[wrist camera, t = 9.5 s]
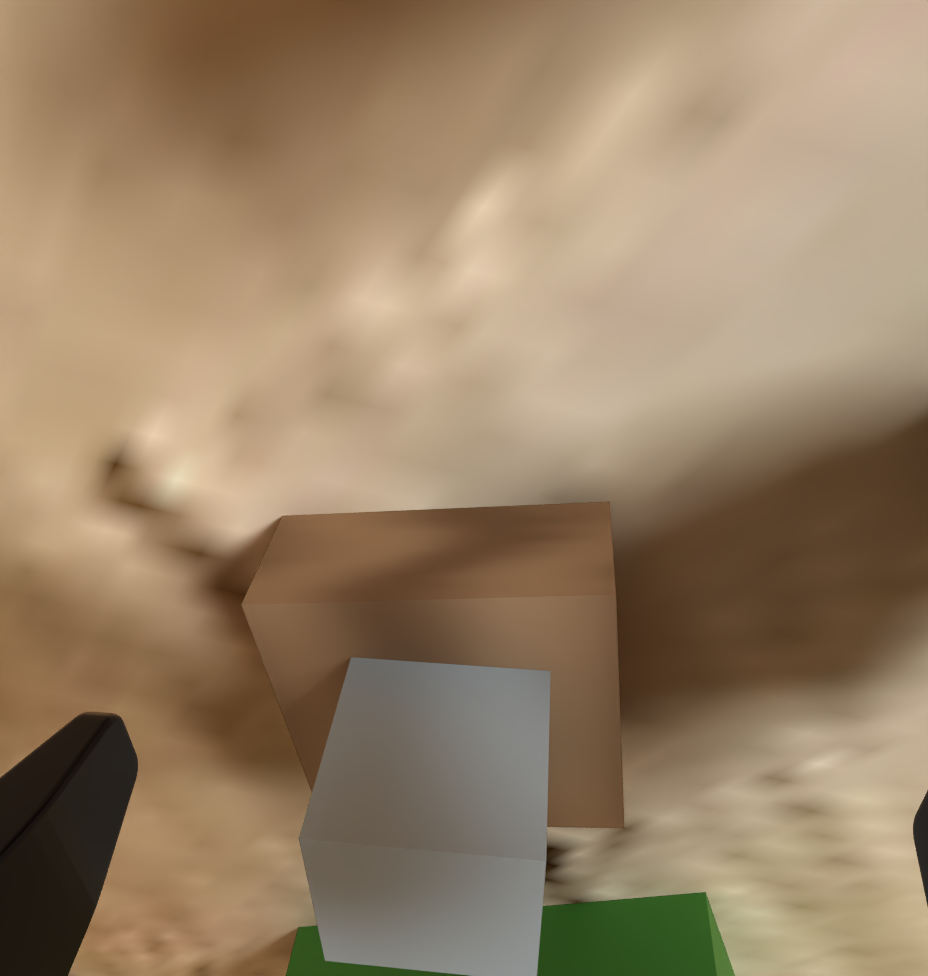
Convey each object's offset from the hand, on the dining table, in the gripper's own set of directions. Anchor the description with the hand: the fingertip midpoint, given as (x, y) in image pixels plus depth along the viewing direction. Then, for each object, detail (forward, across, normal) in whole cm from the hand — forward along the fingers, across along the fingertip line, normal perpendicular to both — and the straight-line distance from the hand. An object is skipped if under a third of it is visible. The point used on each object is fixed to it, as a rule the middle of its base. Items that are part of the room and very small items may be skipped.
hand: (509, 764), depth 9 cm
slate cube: (+8, +2, +10) cm, 13 cm away
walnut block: (+12, +2, +10) cm, 16 cm away
